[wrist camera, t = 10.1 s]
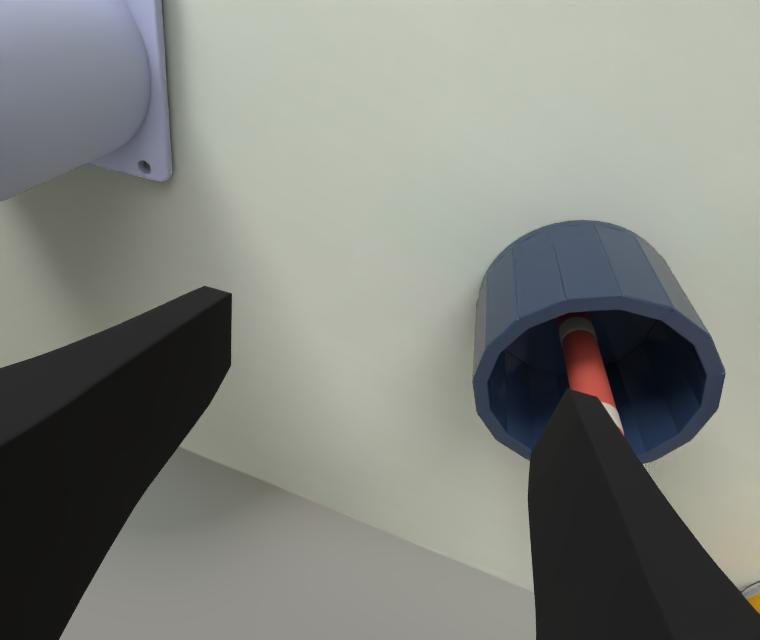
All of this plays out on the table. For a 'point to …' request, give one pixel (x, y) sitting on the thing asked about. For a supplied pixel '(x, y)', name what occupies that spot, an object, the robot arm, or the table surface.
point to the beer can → (753, 596)
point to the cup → (613, 331)
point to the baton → (585, 360)
